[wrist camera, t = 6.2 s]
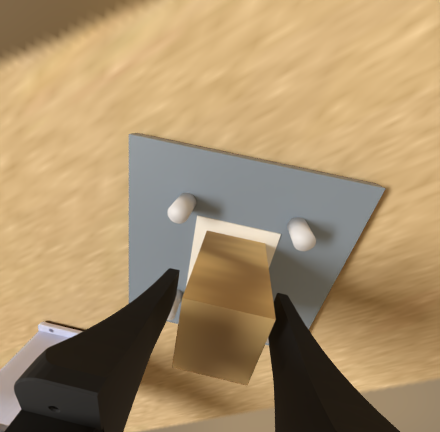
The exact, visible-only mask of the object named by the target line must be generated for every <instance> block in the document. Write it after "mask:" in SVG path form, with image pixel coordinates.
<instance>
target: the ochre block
mask: <svg viewBox="0 0 440 432" xmlns="http://www.w3.org/2000/svg"><path fill="white" fill-rule="evenodd" d="M275 320H276V318H275V311H274V303H273V296H272V289H271V282H270V274H269V267H268V260H267V253H266V246H265V243H261V242H257V241H252V240H248V239H243V238H239V237H234V236H230V235H225V234H221V233H216V232H212V231H206V234H205V237H204V240H203V242H202V245H201V248H200V251H199V253H198V256H197V259H196V262H195V264H194V267H193V270H192V273H191V275H190V278H189V281H188V283H187V286H186V289H185V292H184V294H183V297H182V303H181V310H180V316H179V323H178V330H177V337H176V343H175V350H174V357H173V364H172V367H173V368H177V369H182V370H186V371H190V372H194V373H198V374H202V375H206V376H210V377H214V378H219V379H223V380H227V381H231V382H235V383H239V384H243V385H248V383H249V380H250V378H251V376H252V373H253V371H254V369H255V366H256V364H257V362H258V360H259V357H260V355H261V353H262V350H263V348H264V346H265V343H266V341H267V339H268V336H269V334H270V332H271V329H272V327H273V325H274V323H275Z"/></svg>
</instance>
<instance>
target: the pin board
mask: <svg viewBox="0 0 440 432" xmlns="http://www.w3.org/2000/svg"><path fill="white" fill-rule="evenodd" d="M385 189H386V188H384V187H382V186H380V185H378V184H376V183H371V182H367V181H362V180H357V179H352V178H348V177H343V176H338V175H333V174H329V173H324V172H319V171H314V170H310V169H305V168H300V167H296V166H291V165H286V164H281V163H277V162H272V161H267V160H262V159H258V158H253V157H248V156H244V155H239V154H234V153H229V152H225V151H220V150H215V149H210V148H206V147H201V146H196V145H191V144H187V143H182V142H177V141H173V140H168V139H163V138H158V137H154V136H149V135H144V134H139V133H133V134H129V303H130V302H132V301H133V300H134V299H136V298H137V297H138V296H139V295H141V294H142V293H143V292H144V291H146V290H147V289H148V288H149V287H150V286H151V285H152V284H153V283H155V282H156V281H157V280H158V279H159V278H160V277H161V276H162V275H163V274H164V273H165V272H166V271H167V270H168V269H169V268H172V269H176V270H180V272H179V280H178V287H177V295H176V298H175V301H174V304H173V307H172V310H171V312H170V314H169V316H168V319H167V321H168V322H172V323H177V324H178V323H179V316H180V310H181V303H182V297H183V294H184V292H185V289H186V286H187V283H188V281H189V278H190V275H191V273H192V270H193V267H194V264H195V262H196V259H197V256H198V253H199V251H200V248H201V245H202V242H203V240H204V237H205V234H206V231H212V232H216V233H221V234H225V235H230V236H234V237H239V238H243V239H248V240H252V241H257V242H261V243H265V246H266V253H267V260H268V267H269V274H270V282H271V289H272V296H273V302H274V300H275V297H276V295H277V293H281V294H286V295H288V297H289V298H290V300H291V302H292V303H293V305H294V307H295V309H296V310H297V312H298V314H299V315H300V317H301V319H302V320H303V322H304V323H305V325H306V327H307V328H308V330H309V328H310V326H311V324H312V322H313V321H314V319H315V317H316V315H317V313H318V311H319V310H320V308H321V306H322V304H323V302H324V300H325V299H326V297H327V295H328V293H329V291H330V289H331V288H332V286H333V284H334V282H335V280H336V278H337V277H338V275H339V273H340V271H341V269H342V267H343V266H344V264H345V262H346V260H347V258H348V256H349V255H350V253H351V251H352V249H353V247H354V245H355V244H356V242H357V240H358V238H359V236H360V234H361V233H362V231H363V229H364V227H365V225H366V223H367V222H368V220H369V218H370V216H371V214H372V212H373V211H374V209H375V207H376V205H377V203H378V201H379V200H380V198H381V196H382V194H383V192H384V190H385ZM265 345H269V340H268V339H267V341H266V343H265Z"/></svg>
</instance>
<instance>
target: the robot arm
mask: <svg viewBox="0 0 440 432" xmlns="http://www.w3.org/2000/svg"><path fill="white" fill-rule="evenodd" d="M179 272H180V270H176V269H172V268H169V269H168V270H167V271H166V272H165V273H164V274H163V275H162V276H161V277H160V278H159V279H158V280H157V281H156V282H155V283H153V284H152V285H151V286H150V287H149V288H148V289H147V290H146V291H144V292H143V293H142V294H141V295H139V296H138V297H137V298H136V299H134V300H133V301H132V302H130V303H129V304H128V305H126V306H125V307H124V308H122V309H121V310H119V311H118V312H116V313H115V314H113V315H111V316H110V317H108V318H106V319H105V320H103V321H101V322H100V323H98V324H96V325H94V326H92V327H90V328H89V329H87V330H85V331H80V330H76V329H71V328H67V327H63V326H59V325H55V324H51V323H47V322H41V323H40V324H39V325H38V329H39V331H38V332H37V333H36V334H35V335H34V336H33V337H32V338H31V339H30V340H29V341H28V342H27V343H26V344H25V345H24V347H23V348H22V349H21V350H20V351H19V352H18V353H17V354H16V355H15V356H14V357H13V358H12V359H11V360H10V361H9V362H8V363H7V364H6V365H5V366H4V367H3V368H2V369H1V370H0V432H123V431H124V428H125V425H126V422H127V419H128V416H129V413H130V410H131V408H132V405H133V402H134V399H135V396H136V393H137V391H138V388H139V385H140V382H141V380H142V377H143V374H144V371H145V369H146V366H147V363H148V361H149V358H150V355H151V353H152V351H153V348H154V346H155V344H156V342H157V340H158V338H159V336H160V333H161V331H162V329H163V327H164V325H165V323H166V321H167V319H168V316H169V314H170V312H171V310H172V307H173V304H174V301H175V298H176V295H177V287H178V280H179ZM273 303H274V311H275V318H276V320H275V323H274V325H273V327H272V329H271V332H270V334H269V336H268V340H269V348H270V356H271V364H272V371H273V381H274V400H275V432H400V431H399V430H398V429H397V428H396V427H394V426H393V425H392V424H391V423H390V422H389V421H388V420H387V419H386V418H385V417H383V416H382V415H381V414H380V413H379V412H378V411H377V410H376V409H375V408H374V407H373V406H372V405H371V404H370V403H369V402H368V401H367V400H366V399H365V398H364V397H363V396H362V395H361V394H360V393H359V392H358V391H357V390H356V389H355V388H354V387H353V386H352V384H351V383H350V382H349V381H348V380H347V379H346V378H345V377H344V376H343V374H342V373H341V372H340V371H339V370H338V369H337V367H336V366H335V365H334V364H333V363H332V361H331V360H330V359H329V358H328V356H327V355H326V354H325V352H324V351H323V350H322V348H321V347H320V346H319V344H318V343H317V342H316V340H315V339H314V337H313V336H312V334H311V333H310V331H309V330H308V328H307V327H306V325H305V323H304V322H303V320H302V319H301V317H300V315H299V314H298V312H297V310H296V309H295V307H294V305H293V303H292V302H291V300H290V298H289V297H288V295H286V294H281V293H277V295H276V297H275V300H274V302H273Z"/></svg>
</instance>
